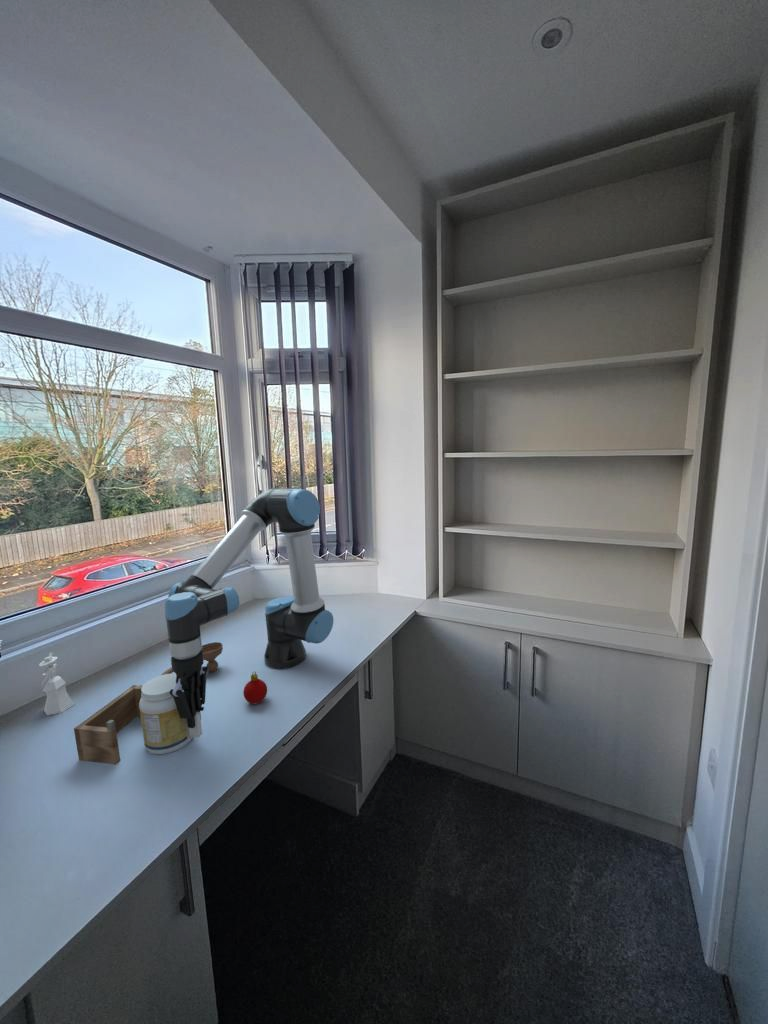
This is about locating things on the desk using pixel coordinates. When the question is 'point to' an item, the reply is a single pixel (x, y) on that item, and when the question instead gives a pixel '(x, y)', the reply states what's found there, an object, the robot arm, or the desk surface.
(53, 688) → the figurine
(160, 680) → the supplement tub
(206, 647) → the brown curved horn
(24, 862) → the desk surface
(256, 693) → the christmas ornament
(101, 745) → the walnut holder
